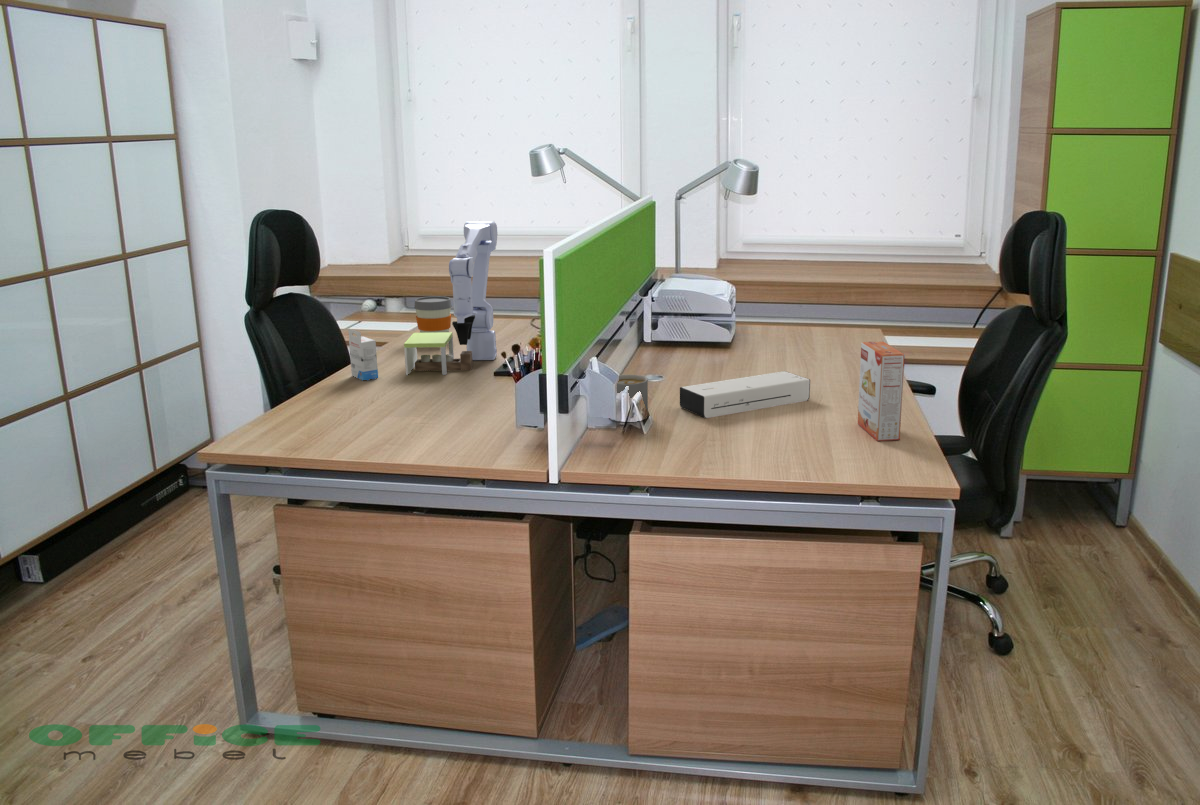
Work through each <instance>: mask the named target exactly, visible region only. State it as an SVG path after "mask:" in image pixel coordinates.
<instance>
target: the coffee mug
mask: <svg viewBox="0 0 1200 805" xmlns="http://www.w3.org/2000/svg"><path fill="white" fill-rule="evenodd" d="M648 379H649V378H647V377H646V376H643V375H639V374H619V381H618V383H617V393H620V392H621V391H623V390H624V389H625V387H626V386H629V390H628V393H629V396H630V398H632V397H633V396H634V395H635V394H636V393H637V392H639V391H640V392H641V394H642V397H643V401H644V404H645V406H646V409H647V411H648V410H649V406H648V405H649V403H648V402H649V400H648V394H649V392H648V391H649V390H648V387H649V386H648V385H649V384H648V383H649V382H648ZM648 412H649V411H648Z"/></svg>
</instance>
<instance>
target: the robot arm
mask: <svg viewBox="0 0 1200 805" xmlns="http://www.w3.org/2000/svg"><path fill="white" fill-rule="evenodd" d="M497 225H498V224H497V223H496V222H495V220H493V221H470V220H466V221H465V223H464V225H463V237H464V239H465V242H464V243H463V244H461V245H460V247H459V248H458V251H457V252H456V255H455V257H454V258H452V259H451V260H449V262H448V273H449V277H450V283H451V284H452V299H453V314H452V315H453V316H454V317H455V318H456V321H451V323H452V324H451V325H452V327H453V328H454V330H455V332H456V336H457V340H458V343H459V346H460V345H461V346H466V351H472V359H473V361H494V360H495V359H496V357H497V354H498V353H497V352H498V351H497V350H498V349H497V340H496V338H497V337H496V336H497V335H496V331H495V330H491V329H492V328H493V326H494V308H493V306H492V304H490V303H489V302H487V300H486V298H487V287H488V277H489V268H490V266H489V265H490V258H491V253H492V252H493V251H495V250H496V249H497V248H496V247H497V245H498V244H497V242H498V226H497Z"/></svg>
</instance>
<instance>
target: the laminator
mask: <svg viewBox="0 0 1200 805" xmlns="http://www.w3.org/2000/svg"><path fill="white" fill-rule="evenodd" d="M810 394H811V379H810V378H808V377H804V376H801V375H798V374H795V373H791V372H789V371H787V370H786V371H785V370H784V371H777V372H776V371H775V372H769V373H763V374H759V375H758V374H757V375H751V376H744V377H737V378H730V379H725V380H719V381H712V382H705V383H699V384H694V385H693V384H691V385H687V386H680V387H679V406H680V408H681V409H684V410H686V411H688V412H691V413H693V414H695V415H698V416H700V417H702V418H704V419H709V418H714V417H715V418H716V417H721V416H726V415H734V414H737V413H744V412H749V411H755V410H760V409H769V408H772V407H778V406H785V405H790V404H797V403H800V402H801V403H802V402H806V401H807V402H808V401H809V399H810V396H811V395H810Z"/></svg>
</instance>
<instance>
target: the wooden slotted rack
mask: <svg viewBox="0 0 1200 805" xmlns="http://www.w3.org/2000/svg"><path fill="white" fill-rule="evenodd" d="M459 356H460V358H454V359H453V355H451V354H449V353H448V354H447V353H446V367H447V370H452V371H471V370H472V369H473V367H474V365H473V364H474V363H473V362H474V360H473V359H472V351H467V350H461V353H460V354H459ZM431 357H432V358H431ZM415 370H416V371H415ZM417 370H421V371H420V372H424V370H425V372H428V370H429V372H435V371H434V370H442V361H441V354H433V355H430V354H422V355H420V358H417V361H416V362H415V367H414V371H415V372H418V371H417ZM422 370H423V371H422ZM426 370H427V371H426ZM430 370H431V371H430ZM432 370H433V371H432Z"/></svg>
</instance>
